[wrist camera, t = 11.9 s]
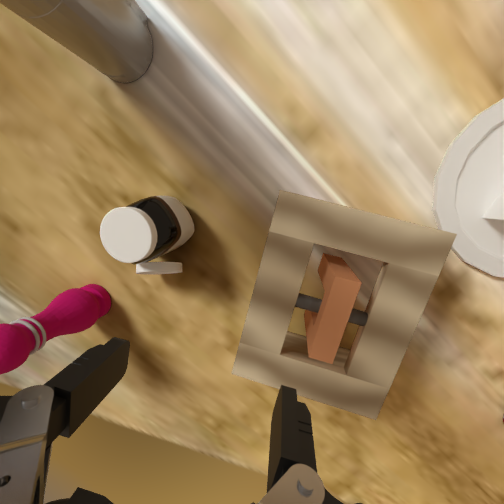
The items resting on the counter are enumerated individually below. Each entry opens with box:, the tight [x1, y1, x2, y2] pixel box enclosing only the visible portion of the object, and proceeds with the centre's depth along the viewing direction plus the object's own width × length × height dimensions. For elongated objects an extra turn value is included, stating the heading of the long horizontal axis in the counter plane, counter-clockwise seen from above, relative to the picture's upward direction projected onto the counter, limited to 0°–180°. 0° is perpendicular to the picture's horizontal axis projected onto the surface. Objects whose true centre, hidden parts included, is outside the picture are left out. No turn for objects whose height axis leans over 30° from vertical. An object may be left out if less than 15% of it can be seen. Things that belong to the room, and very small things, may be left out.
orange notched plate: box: [304, 253, 362, 364], centre depth 31 cm, size 10×3×10 cm, turn 167°
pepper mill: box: [0, 284, 111, 374], centre depth 37 cm, size 7×7×20 cm
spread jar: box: [100, 196, 194, 274], centre depth 37 cm, size 12×11×12 cm
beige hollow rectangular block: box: [232, 190, 457, 420], centre depth 34 cm, size 23×18×12 cm
